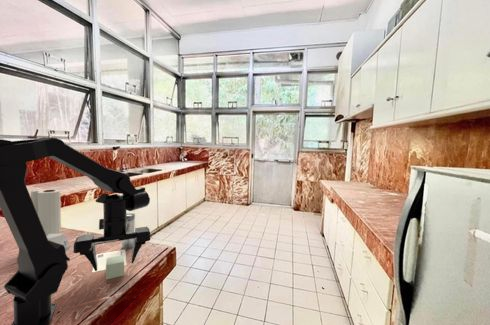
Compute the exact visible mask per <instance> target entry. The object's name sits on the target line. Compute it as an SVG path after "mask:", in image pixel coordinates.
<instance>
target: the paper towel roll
mask: <svg viewBox="0 0 490 325" xmlns="http://www.w3.org/2000/svg"><path fill="white" fill-rule="evenodd" d="M30 197H31V199H32V202H33V204H34V207H35V209H36V212H37V214H38V217H39V219H40V222H41V224H42V227H43V229H44V231H45V234H46V236H47V235H48V234H62V229H61V228H62V226H61V225H62V224H61V222H62V221H61V218H62V217H61V215H62V214H61V212H62V210H61V209H62V208H61V190H60V189H43V190H34V191H33V190H32V191H31V192H30Z"/></svg>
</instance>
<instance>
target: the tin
mask: <svg viewBox="0 0 490 325" xmlns="http://www.w3.org/2000/svg"><path fill="white" fill-rule="evenodd" d="M135 217H136V214H135V213H131V212H130V213H126V233H131V232H135ZM133 244H134V239H128V240H121V250H124V249H125V250H129V249H133Z"/></svg>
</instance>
